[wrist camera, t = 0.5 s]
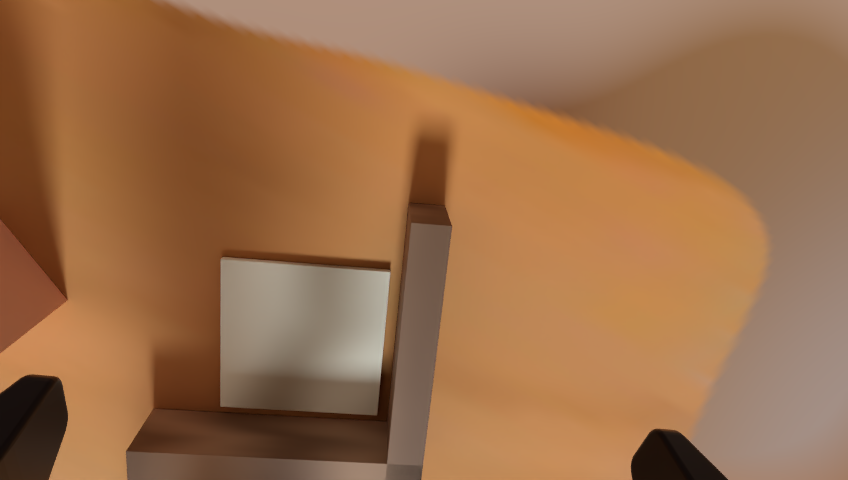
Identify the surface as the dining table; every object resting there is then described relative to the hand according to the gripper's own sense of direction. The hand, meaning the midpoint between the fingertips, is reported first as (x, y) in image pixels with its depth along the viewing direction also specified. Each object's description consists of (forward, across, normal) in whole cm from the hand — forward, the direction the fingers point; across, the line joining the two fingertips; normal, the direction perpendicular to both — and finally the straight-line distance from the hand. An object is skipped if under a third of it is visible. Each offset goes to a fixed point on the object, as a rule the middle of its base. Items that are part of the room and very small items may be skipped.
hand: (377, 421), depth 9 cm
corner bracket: (+13, +1, +12) cm, 18 cm away
